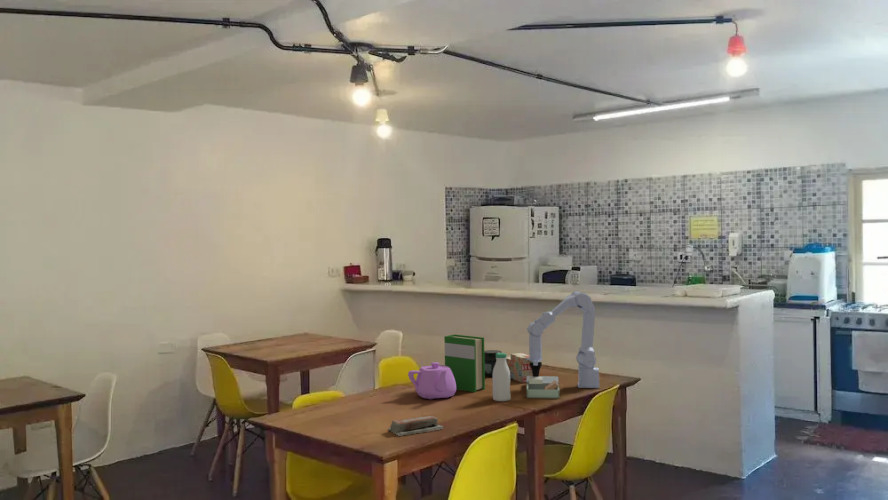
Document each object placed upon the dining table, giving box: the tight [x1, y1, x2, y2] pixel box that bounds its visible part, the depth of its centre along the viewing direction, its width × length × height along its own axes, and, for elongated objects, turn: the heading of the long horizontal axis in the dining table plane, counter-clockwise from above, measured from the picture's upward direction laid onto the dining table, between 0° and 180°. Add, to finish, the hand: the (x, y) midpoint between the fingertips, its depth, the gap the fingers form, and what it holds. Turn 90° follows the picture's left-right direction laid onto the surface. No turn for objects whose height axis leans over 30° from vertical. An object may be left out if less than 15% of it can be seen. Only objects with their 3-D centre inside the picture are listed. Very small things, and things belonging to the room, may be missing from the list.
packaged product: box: [387, 415, 444, 437], centre depth 265 cm, size 18×5×10 cm
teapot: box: [407, 361, 457, 400], centre depth 314 cm, size 23×21×15 cm
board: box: [525, 375, 560, 390], centre depth 330 cm, size 14×15×4 cm
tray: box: [526, 384, 560, 399], centre depth 317 cm, size 14×12×4 cm
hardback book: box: [443, 334, 486, 393], centre depth 332 cm, size 18×7×24 cm, turn 50°
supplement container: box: [484, 349, 503, 378], centre depth 362 cm, size 10×10×12 cm
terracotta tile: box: [544, 380, 560, 390], centre depth 319 cm, size 6×6×2 cm
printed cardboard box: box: [506, 352, 533, 384], centre depth 354 cm, size 21×6×12 cm, turn 20°
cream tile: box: [529, 377, 543, 384], centre depth 324 cm, size 6×6×2 cm
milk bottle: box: [492, 352, 512, 402], centre depth 309 cm, size 8×8×20 cm
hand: (535, 378), depth 328 cm, fingers closed
